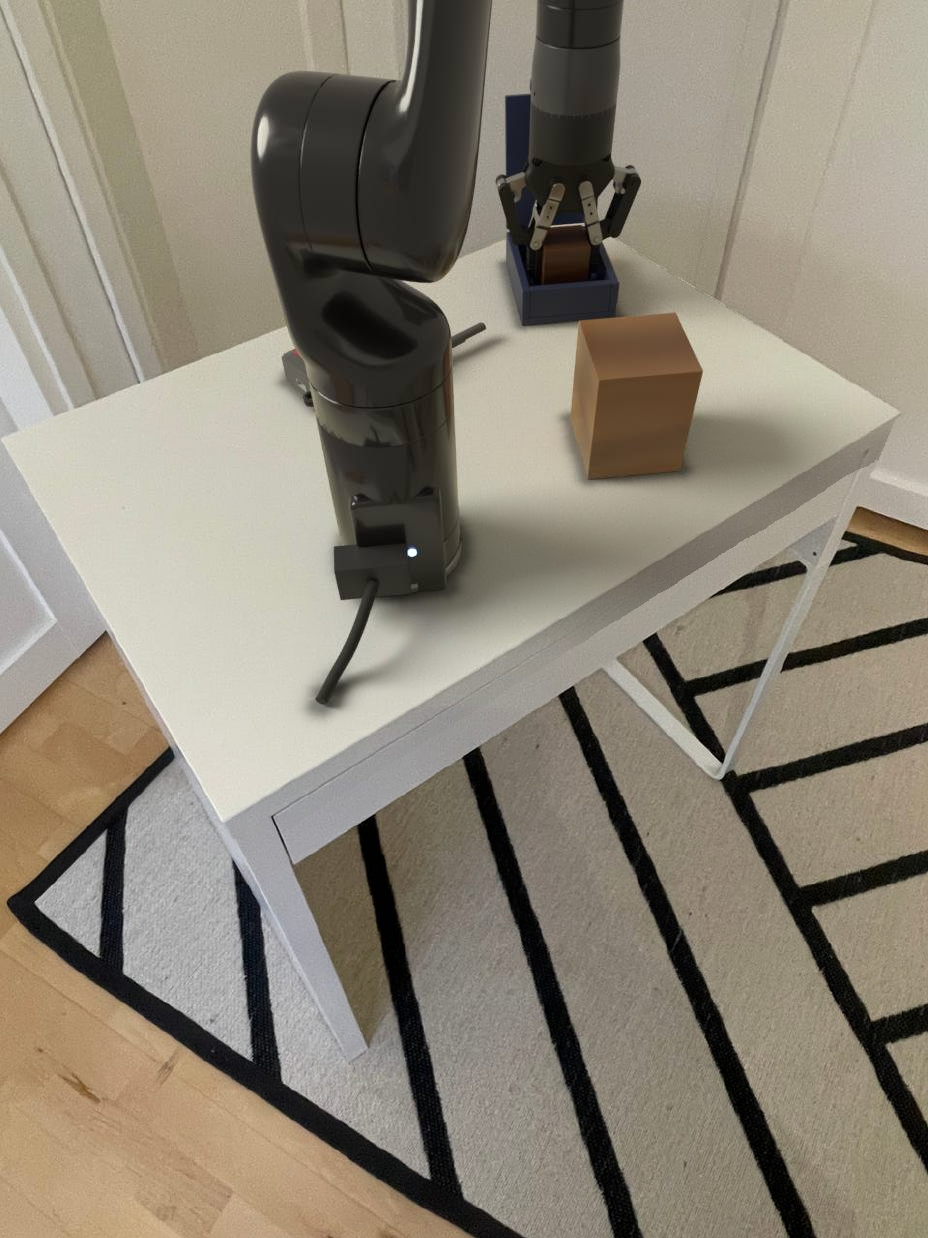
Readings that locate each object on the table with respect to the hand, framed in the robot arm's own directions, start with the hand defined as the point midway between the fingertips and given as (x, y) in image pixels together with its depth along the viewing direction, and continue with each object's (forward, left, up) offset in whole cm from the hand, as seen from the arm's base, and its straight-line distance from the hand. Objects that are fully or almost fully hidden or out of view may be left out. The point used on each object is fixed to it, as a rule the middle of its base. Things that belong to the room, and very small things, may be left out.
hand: (561, 276), depth 88 cm
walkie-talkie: (-9, +19, -2) cm, 21 cm away
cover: (+8, 0, +8) cm, 11 cm away
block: (0, 0, 0) cm, 0 cm away
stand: (-24, -1, -2) cm, 24 cm away
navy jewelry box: (+1, 0, -2) cm, 2 cm away
